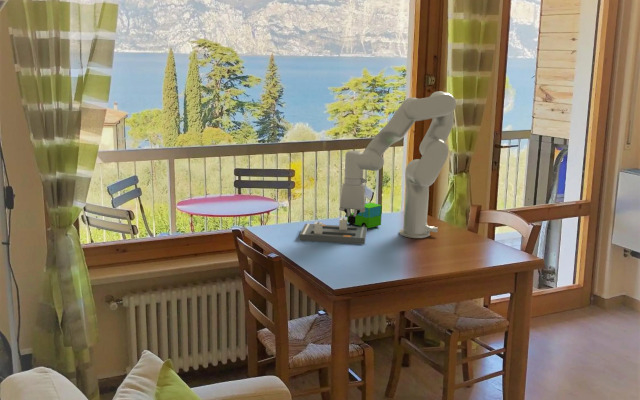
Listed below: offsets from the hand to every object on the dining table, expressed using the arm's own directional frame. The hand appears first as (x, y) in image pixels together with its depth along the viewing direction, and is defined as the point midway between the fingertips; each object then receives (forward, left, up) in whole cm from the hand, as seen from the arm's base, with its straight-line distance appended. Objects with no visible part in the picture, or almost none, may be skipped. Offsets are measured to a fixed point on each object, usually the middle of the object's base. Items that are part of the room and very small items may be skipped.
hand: (351, 224), depth 263 cm
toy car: (-4, -15, -5) cm, 16 cm away
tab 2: (+3, 0, -3) cm, 5 cm away
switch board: (+7, +4, -4) cm, 9 cm away
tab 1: (+13, +8, -3) cm, 15 cm away
